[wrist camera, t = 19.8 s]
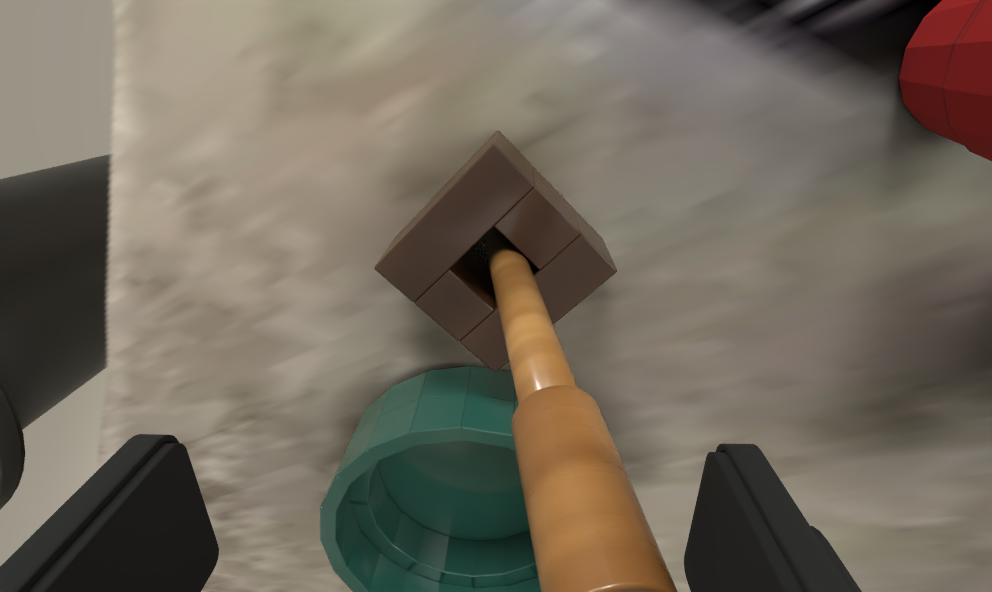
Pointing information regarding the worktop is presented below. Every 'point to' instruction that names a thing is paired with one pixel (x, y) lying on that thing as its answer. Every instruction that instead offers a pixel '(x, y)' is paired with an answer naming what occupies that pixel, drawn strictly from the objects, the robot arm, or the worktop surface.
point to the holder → (465, 276)
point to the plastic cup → (952, 73)
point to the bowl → (432, 491)
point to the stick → (567, 454)
